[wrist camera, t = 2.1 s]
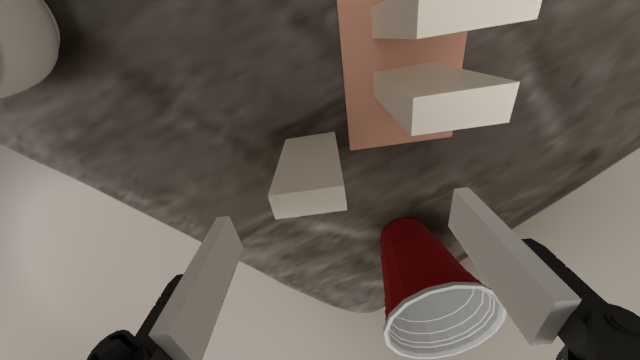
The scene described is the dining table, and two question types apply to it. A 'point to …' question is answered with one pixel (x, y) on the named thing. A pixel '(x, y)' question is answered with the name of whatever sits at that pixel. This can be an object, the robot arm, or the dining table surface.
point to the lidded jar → (26, 44)
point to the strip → (377, 55)
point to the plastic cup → (432, 296)
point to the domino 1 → (308, 178)
